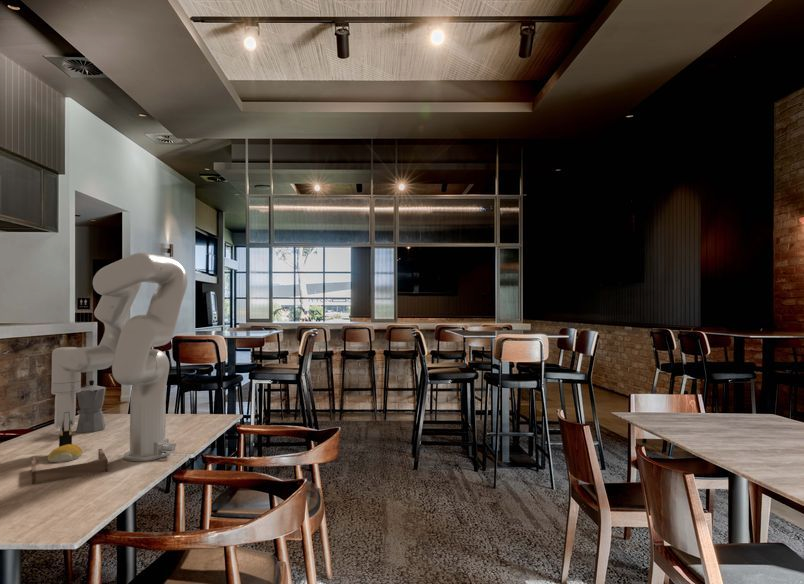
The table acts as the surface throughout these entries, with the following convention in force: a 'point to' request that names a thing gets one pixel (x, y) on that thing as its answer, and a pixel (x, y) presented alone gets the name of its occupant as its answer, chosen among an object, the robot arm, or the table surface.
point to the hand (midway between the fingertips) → (65, 448)
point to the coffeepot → (91, 408)
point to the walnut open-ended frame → (70, 470)
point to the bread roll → (65, 453)
